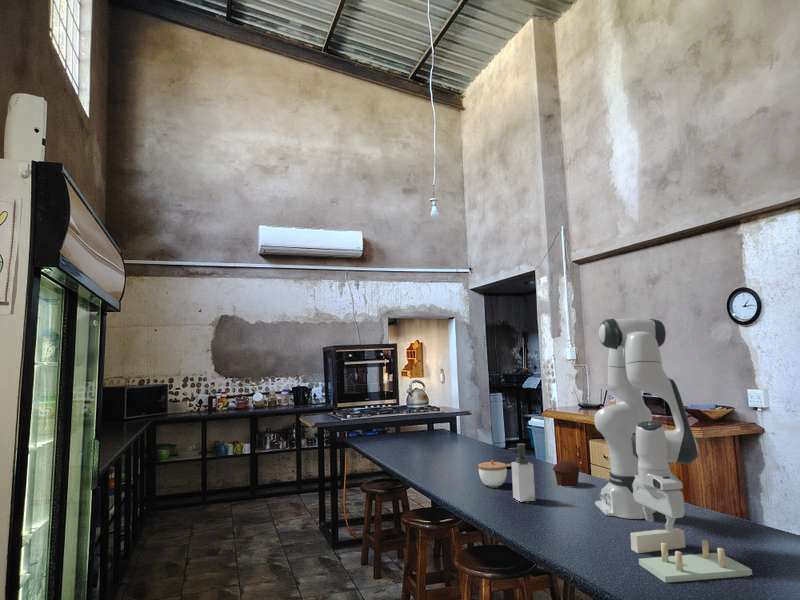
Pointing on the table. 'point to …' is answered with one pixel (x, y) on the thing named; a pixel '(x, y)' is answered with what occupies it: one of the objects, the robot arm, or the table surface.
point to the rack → (694, 565)
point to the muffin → (566, 473)
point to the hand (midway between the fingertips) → (659, 525)
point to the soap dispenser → (522, 476)
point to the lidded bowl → (492, 473)
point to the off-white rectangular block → (657, 540)
